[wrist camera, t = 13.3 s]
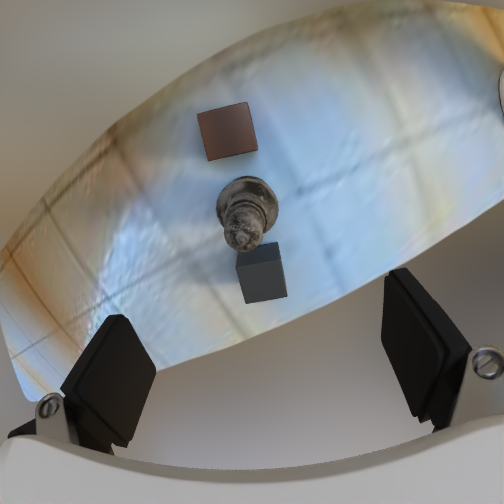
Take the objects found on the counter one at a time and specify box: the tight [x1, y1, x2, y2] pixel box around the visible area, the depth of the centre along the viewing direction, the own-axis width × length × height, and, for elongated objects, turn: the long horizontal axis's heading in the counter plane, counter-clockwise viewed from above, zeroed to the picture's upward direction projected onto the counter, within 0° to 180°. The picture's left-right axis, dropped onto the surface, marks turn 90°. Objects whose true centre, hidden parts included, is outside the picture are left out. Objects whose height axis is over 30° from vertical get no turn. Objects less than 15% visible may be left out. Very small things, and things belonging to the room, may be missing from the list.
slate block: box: [236, 242, 287, 304], centre depth 30 cm, size 4×4×4 cm
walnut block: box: [197, 102, 258, 161], centre depth 24 cm, size 4×4×4 cm
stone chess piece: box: [216, 176, 279, 252], centre depth 24 cm, size 6×6×12 cm
